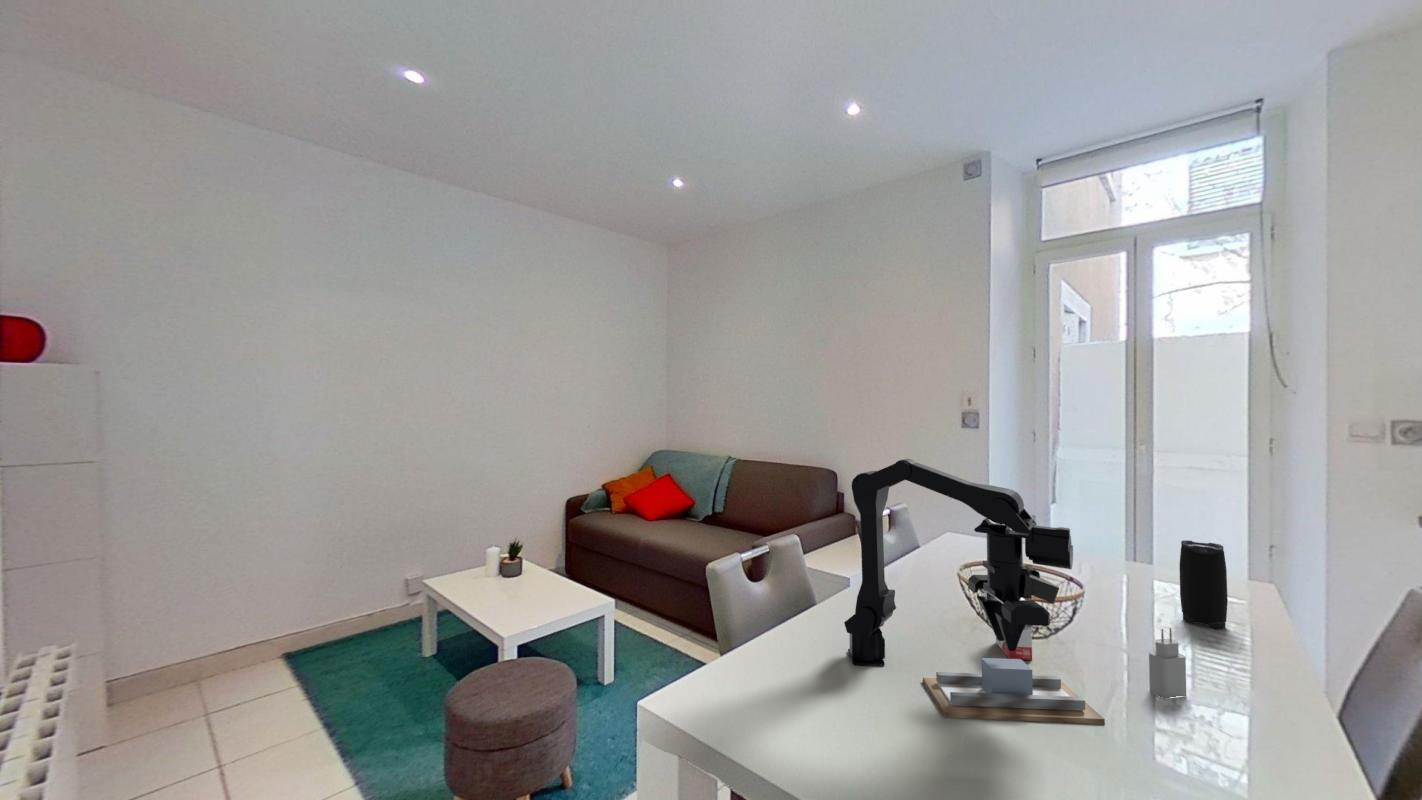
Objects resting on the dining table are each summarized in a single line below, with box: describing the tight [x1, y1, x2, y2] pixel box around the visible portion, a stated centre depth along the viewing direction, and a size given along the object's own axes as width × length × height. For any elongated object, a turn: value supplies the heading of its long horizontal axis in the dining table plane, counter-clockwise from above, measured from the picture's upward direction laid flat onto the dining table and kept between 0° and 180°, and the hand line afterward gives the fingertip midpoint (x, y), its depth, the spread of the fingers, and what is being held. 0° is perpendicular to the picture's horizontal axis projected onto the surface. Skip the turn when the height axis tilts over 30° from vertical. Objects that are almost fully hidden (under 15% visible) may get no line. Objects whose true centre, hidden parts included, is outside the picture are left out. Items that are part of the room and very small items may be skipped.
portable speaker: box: [1179, 539, 1229, 630], centre depth 130 cm, size 9×9×20 cm
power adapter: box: [1148, 627, 1187, 699], centre depth 98 cm, size 3×5×12 cm, turn 101°
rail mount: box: [922, 671, 1106, 725], centre depth 96 cm, size 26×12×3 cm, turn 85°
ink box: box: [995, 598, 1033, 661], centre depth 116 cm, size 9×5×12 cm, turn 168°
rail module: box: [981, 657, 1033, 695], centre depth 96 cm, size 7×4×6 cm, turn 85°
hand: (1006, 645), depth 96 cm, fingers open, 4 cm apart
